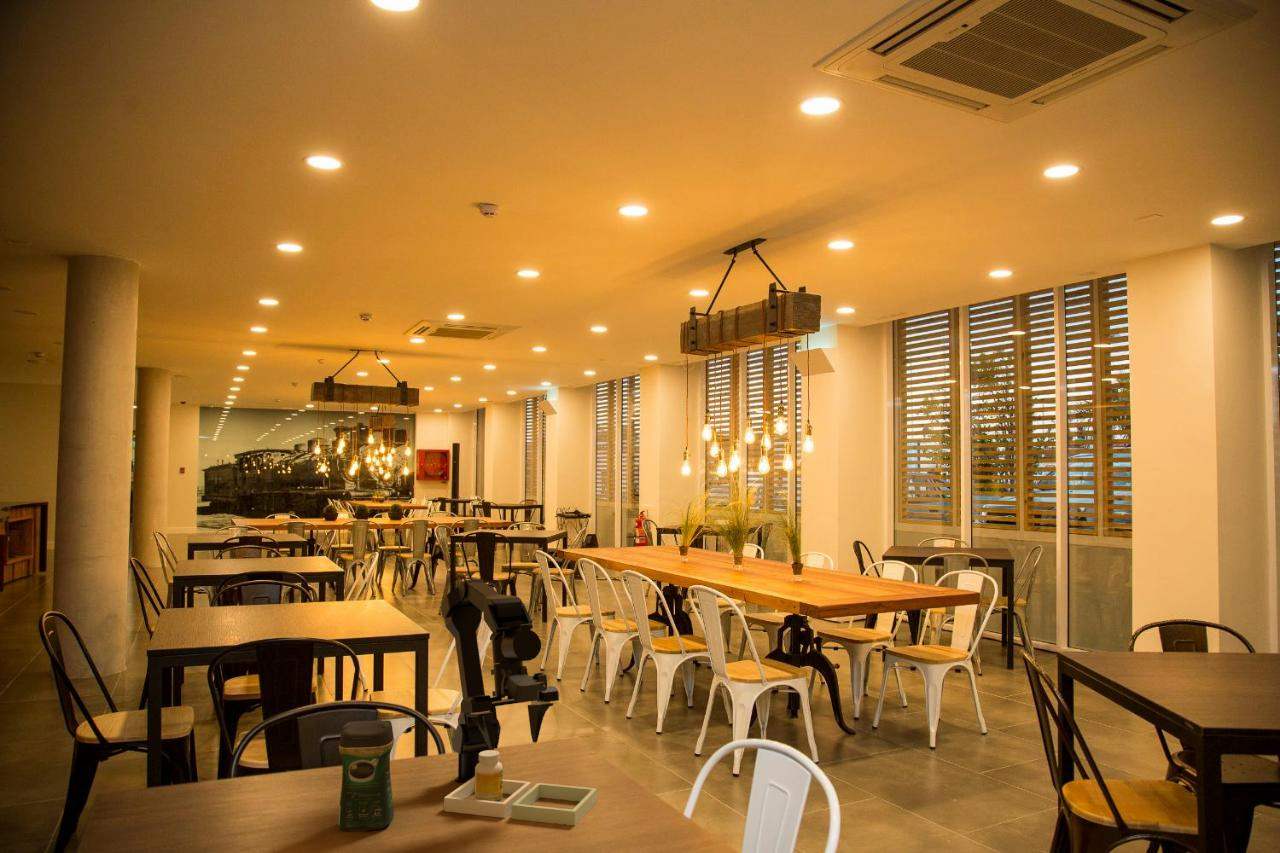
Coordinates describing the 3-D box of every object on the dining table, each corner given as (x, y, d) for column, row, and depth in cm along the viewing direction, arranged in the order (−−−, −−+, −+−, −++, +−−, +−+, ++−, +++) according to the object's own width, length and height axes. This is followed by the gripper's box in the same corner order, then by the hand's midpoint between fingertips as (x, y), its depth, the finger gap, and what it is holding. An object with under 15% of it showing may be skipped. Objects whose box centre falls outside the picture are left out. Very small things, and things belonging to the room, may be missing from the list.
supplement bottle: (472, 800, 176) (473, 750, 177) (499, 796, 178) (499, 747, 179) (477, 809, 171) (477, 758, 172) (505, 805, 173) (505, 755, 174)
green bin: (511, 818, 166) (511, 804, 167) (537, 795, 178) (537, 782, 179) (575, 825, 163) (575, 811, 163) (597, 801, 175) (597, 788, 175)
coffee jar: (396, 815, 168) (398, 715, 169) (388, 831, 160) (389, 726, 161) (344, 817, 167) (345, 716, 169) (333, 833, 160) (335, 728, 161)
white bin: (444, 811, 170) (444, 797, 170) (474, 789, 182) (474, 776, 182) (504, 817, 167) (504, 804, 167) (531, 794, 179) (531, 782, 179)
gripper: (482, 666, 163) (488, 756, 159) (570, 655, 174) (577, 739, 170) (457, 668, 172) (462, 753, 168) (542, 658, 183) (548, 738, 179)
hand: (513, 746), depth 171 cm, fingers open, 9 cm apart
